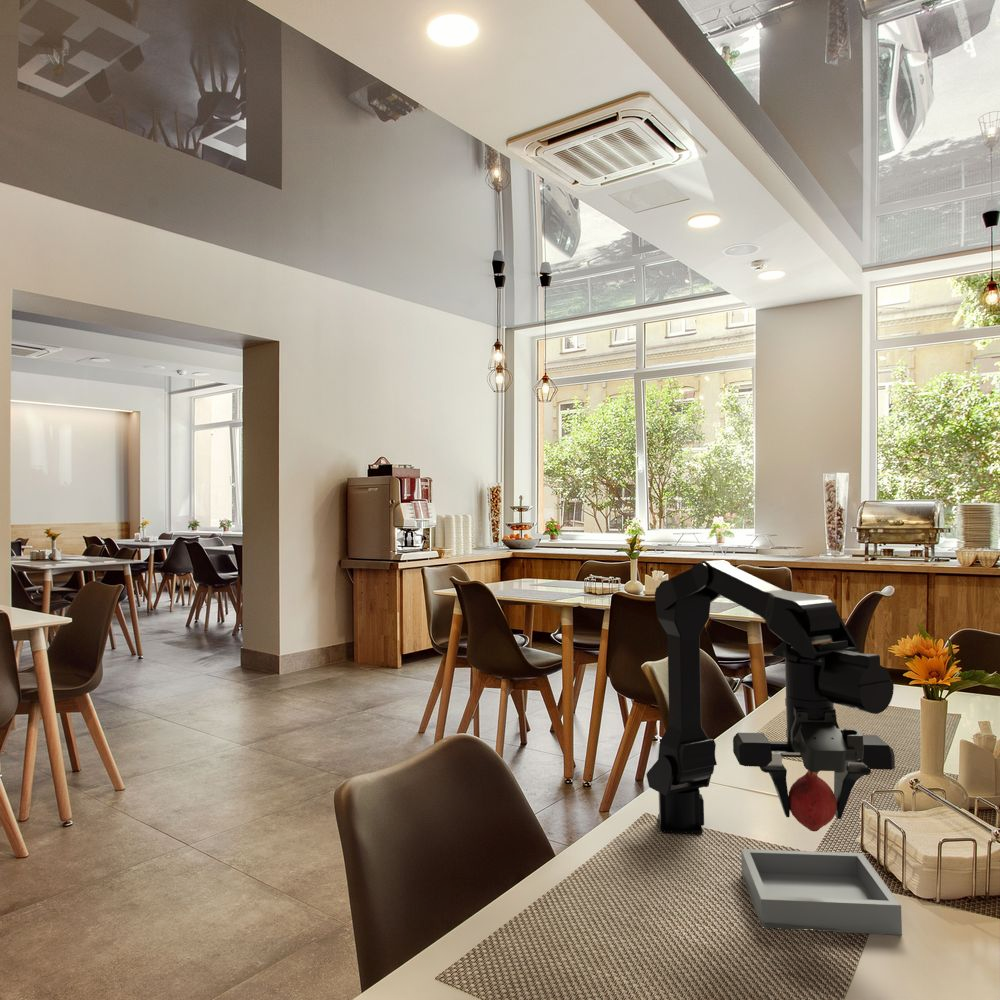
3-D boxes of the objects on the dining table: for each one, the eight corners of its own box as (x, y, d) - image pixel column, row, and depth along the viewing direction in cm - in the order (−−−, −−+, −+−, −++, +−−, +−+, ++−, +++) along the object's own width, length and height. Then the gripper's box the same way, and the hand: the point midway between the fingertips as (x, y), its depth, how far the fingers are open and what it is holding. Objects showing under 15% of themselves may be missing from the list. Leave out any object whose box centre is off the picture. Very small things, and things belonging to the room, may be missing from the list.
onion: (815, 844, 96) (813, 779, 96) (779, 827, 101) (777, 766, 101) (847, 834, 99) (845, 771, 99) (810, 818, 104) (808, 758, 104)
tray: (761, 928, 94) (760, 899, 94) (741, 874, 108) (741, 848, 108) (902, 935, 92) (901, 905, 92) (863, 879, 105) (862, 853, 105)
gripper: (745, 711, 93) (749, 841, 93) (910, 713, 91) (914, 847, 91) (731, 689, 104) (733, 805, 104) (877, 691, 102) (880, 810, 102)
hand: (812, 817), depth 100 cm, fingers closed on onion, 6 cm apart
